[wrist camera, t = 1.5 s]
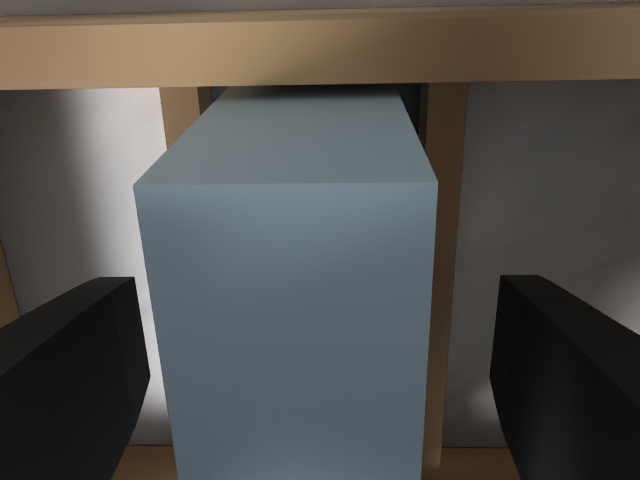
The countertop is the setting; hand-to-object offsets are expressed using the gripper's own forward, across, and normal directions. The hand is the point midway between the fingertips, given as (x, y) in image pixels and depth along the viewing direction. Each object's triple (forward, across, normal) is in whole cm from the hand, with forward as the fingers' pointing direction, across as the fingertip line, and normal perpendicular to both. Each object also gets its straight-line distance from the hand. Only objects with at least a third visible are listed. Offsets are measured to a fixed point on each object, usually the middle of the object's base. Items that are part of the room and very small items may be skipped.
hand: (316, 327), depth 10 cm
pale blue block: (+2, 0, 0) cm, 2 cm away
